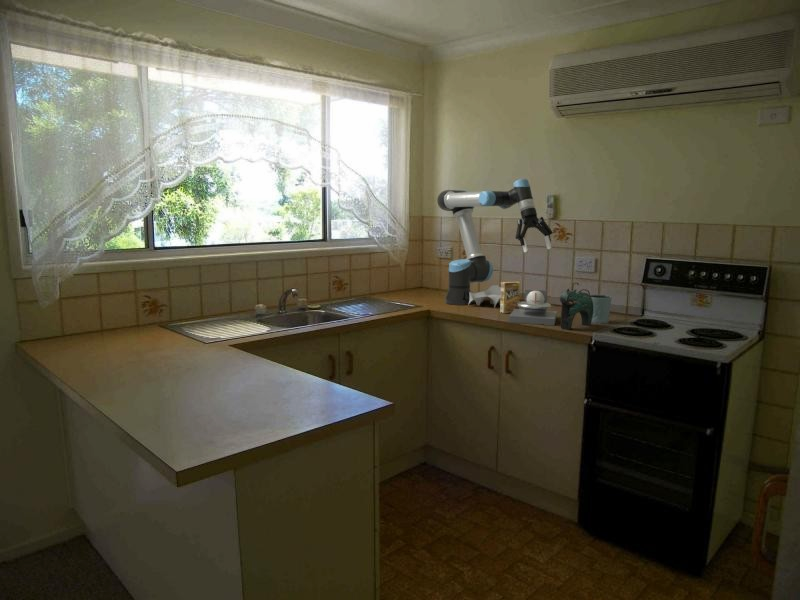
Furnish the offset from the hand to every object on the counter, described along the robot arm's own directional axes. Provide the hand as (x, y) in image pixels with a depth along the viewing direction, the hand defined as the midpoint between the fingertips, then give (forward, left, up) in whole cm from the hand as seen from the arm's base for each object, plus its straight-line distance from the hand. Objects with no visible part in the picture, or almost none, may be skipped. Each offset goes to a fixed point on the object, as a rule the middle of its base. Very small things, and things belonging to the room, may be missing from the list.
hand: (538, 250), depth 285 cm
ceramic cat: (+20, -31, -31) cm, 48 cm away
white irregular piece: (-26, +17, -32) cm, 45 cm away
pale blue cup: (+30, -15, -31) cm, 46 cm away
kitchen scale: (+1, -21, -31) cm, 37 cm away
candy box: (-12, -5, -31) cm, 34 cm away
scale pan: (+1, -21, -26) cm, 33 cm away
